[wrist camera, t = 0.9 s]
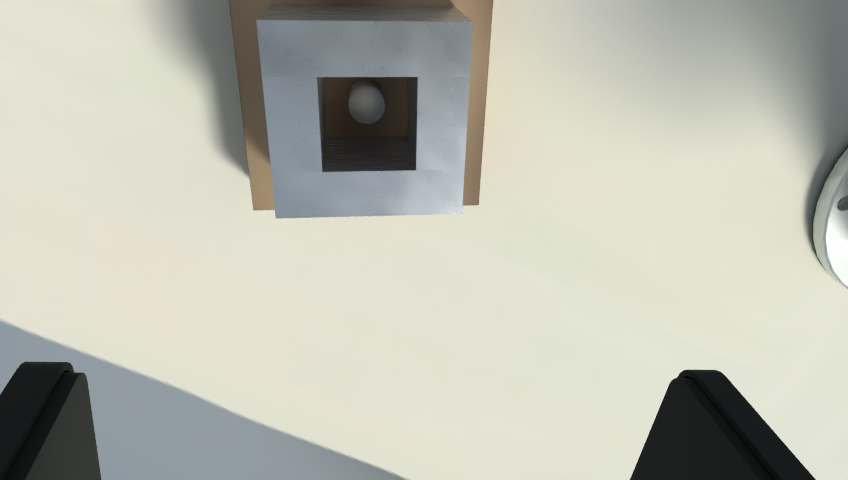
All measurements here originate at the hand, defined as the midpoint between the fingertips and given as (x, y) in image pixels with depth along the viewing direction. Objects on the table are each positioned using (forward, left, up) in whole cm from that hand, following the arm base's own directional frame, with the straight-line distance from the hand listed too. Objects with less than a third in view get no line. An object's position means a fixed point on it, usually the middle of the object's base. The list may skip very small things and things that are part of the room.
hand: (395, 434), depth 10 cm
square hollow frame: (0, -1, -18) cm, 18 cm away
